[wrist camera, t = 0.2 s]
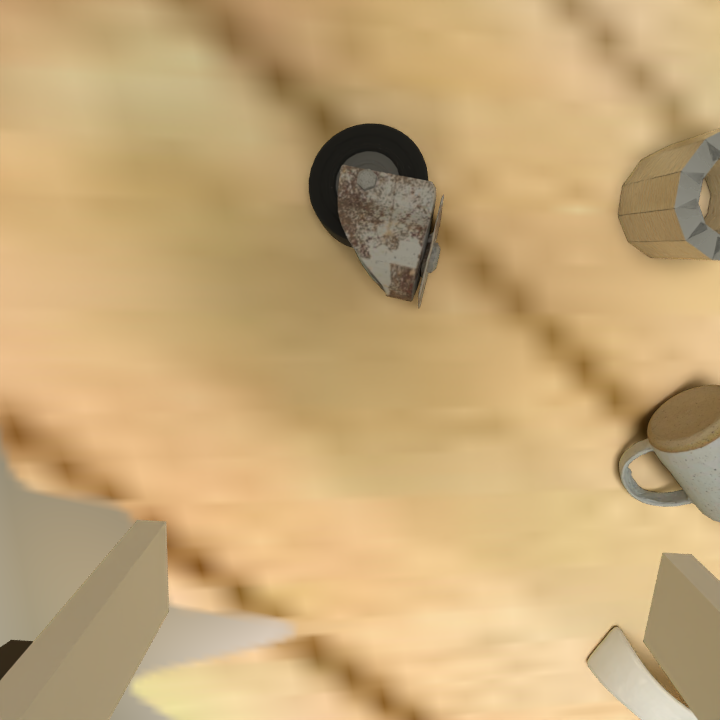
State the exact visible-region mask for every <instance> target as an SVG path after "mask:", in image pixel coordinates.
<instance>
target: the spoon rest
mask: <svg viewBox="0 0 720 720" xmlns="http://www.w3.org/2000/svg"><path fill="white" fill-rule="evenodd" d="M587 664H588V667H589V668H590V670H591V671H592V673H593V674H594V675H595V676H596V678H597V679H598V680H599V681H600V682H601V683H602V685H603V686H604V687H605V688H606V689H607V690H608V691H609V692H610V693H611V694H612V695H614V696H615V697H616V698H617V699H618V700H619V701H620V702H621V703H622V704H623V705H625V706H626V707H627V708H628V709H629V710H630V711H631V712H633V713H634V714H635V715H636V716H637V717H639V718H640V719H641V720H698V719H697V718H696V716H695V715H694V714H693V712H692V711H691V709H689V708H688V707H686V706H685V705H684V704H682V703H681V702H680V701H678V700H677V699H676V698H675V697H673V696H672V695H671V694H670V693H669V692H668V691H666V690H665V689H664V688H663V687H662V685H661V684H660V683H659V682H658V681H657V680H656V679H655V678H654V677H653V676H652V675H651V673H650V672H649V671H648V670H647V668H646V667H645V666H644V664H643V663H642V662H641V660H640V659H639V657H638V656H637V654H636V652H635V651H634V649H633V648H632V646H631V645H630V643H629V642H628V640H627V638H626V637H625V635H624V634H623V632H622V631H621V629H620V628H619V627H614V628H613V629H612V630H611V631H610V632H609V633H608V635H607V636H606V637H605V638H604V640H603V641H602V642H601V643H600V644H599V645H598V647H597V648H596V649H595V650H594V652H593V653H592V654H591V656H590V657H589V659H588V661H587Z"/></svg>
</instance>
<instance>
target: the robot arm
mask: <svg viewBox="0 0 720 720" xmlns="http://www.w3.org/2000/svg"><path fill="white" fill-rule="evenodd" d="M168 612H169V597H168V565H167V533H166V522H164V521H148V520H137V521H136V522H135V523H134V524H133V525H132V527H131V528H130V529H129V530H128V531H127V533H126V534H125V535H124V536H123V537H122V538H121V540H120V541H119V542H118V543H117V544H116V545H115V547H114V548H113V549H112V550H111V551H110V552H109V554H108V555H107V556H106V557H105V558H104V559H103V561H102V562H101V563H100V564H99V565H98V567H97V568H96V569H95V570H94V571H93V573H91V575H90V576H89V577H88V578H87V579H86V581H85V582H84V583H83V584H82V585H81V587H80V588H79V589H78V590H77V591H76V592H75V593H74V595H73V596H72V597H71V598H70V599H69V600H68V602H67V603H66V604H65V605H64V606H63V608H62V609H61V610H60V611H59V612H58V613H57V614H56V616H55V617H54V618H53V619H52V620H51V622H50V623H49V624H48V625H47V626H46V627H45V629H44V630H43V631H42V632H41V633H40V634H39V636H38V637H37V638H36V639H35V640H34V641H20V640H10V641H9V642H7V643H6V644H5V645H3V646H2V647H0V720H109V719H110V717H111V716H112V714H113V712H114V710H115V708H116V706H117V705H118V703H119V701H120V699H121V697H122V696H123V694H124V692H125V690H126V688H127V687H128V685H129V683H130V681H131V679H132V677H133V676H134V674H135V672H136V670H137V668H138V667H139V665H140V663H141V661H142V659H143V657H144V655H145V654H146V652H147V650H148V648H149V647H150V645H151V643H152V641H153V639H154V638H155V636H156V634H157V632H158V630H159V628H160V627H161V625H162V623H163V621H164V619H165V618H166V616H167V614H168ZM643 642H644V643H645V645H646V646H647V648H648V649H649V650H650V652H651V653H652V655H653V656H654V658H655V659H656V661H657V662H658V663H659V665H660V666H661V668H662V669H663V671H664V672H665V673H666V675H667V676H668V678H669V679H670V681H671V682H672V683H673V685H674V686H675V688H676V689H677V691H678V692H679V693H680V695H681V696H682V698H683V699H684V701H685V702H686V704H687V705H688V706H689V708H690V709H691V711H692V712H693V714H694V715H695V716H696V718H697V719H698V720H720V581H719V580H718V579H717V578H716V577H715V576H714V575H713V574H712V573H711V572H710V571H708V570H707V569H706V568H705V567H704V566H703V565H702V564H701V563H700V562H699V561H698V560H697V559H696V558H695V557H694V556H693V555H692V554H676V553H662V557H661V562H660V566H659V571H658V575H657V580H656V584H655V589H654V594H653V598H652V603H651V607H650V612H649V617H648V621H647V626H646V630H645V635H644V640H643Z"/></svg>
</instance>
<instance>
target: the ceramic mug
mask: <svg viewBox="0 0 720 720" xmlns="http://www.w3.org/2000/svg"><path fill="white" fill-rule="evenodd" d="M647 436H648V439H645V440H642V441H640V442H637V443H635V444H634V445H632V446H631V447H630V448H628V449H627V450H626V451H625V452H624V453H623V455H622V456H621V458H620V462H619V472H620V478H621V481H622V483H623V485H624V487H625V488H626V490H627V491H628V493H629V494H631V495H632V496H633V497H634V498H635V499H637V500H639V501H641V502H643V503H646V504H650V505H654V506H664V507H666V506H680V505H685V504H690V503H693V504H695V505H696V506H697V508H698V509H699V510H700V511H701V512H702V513H703V514H704V515H706V516H707V517H709V518H711V519H712V520H714V521H717V522H720V385H706V386H699V387H695V388H691V389H688V390H686V391H683V392H681V393H679V394H677V395H675V396H674V397H672V398H670V399H669V400H667V401H666V402H665V403H664V404H662V405H661V406H660V407H659V408H658V409H657V410H656V411H655V413H654V414H653V416H652V417H651V419H650V421H649V424H648V428H647ZM650 451H654V452H655V453H656V455H657V456H658V458H659V459H660V460H661V462H662V463H663V464H664V465H665V466H666V468H667V469H668V470H669V471H670V472H671V474H672V475H673V476H674V478H675V479H676V481H677V482H678V483H679V484H680V486H681V487H682V488H683V490H679V491H674V492H667V493H657V492H650V491H647V490H644V489H642V488H641V487H639V486H638V485H637V483H636V482H635V480H634V479H633V478H632V476H631V470H630V469H629V468H628V466H629V464H630V463H631V462H632V461H633V460H634V459H636V458H638V457H639V456H641V455H643V454H646V453H647V452H650Z"/></svg>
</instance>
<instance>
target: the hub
mask: <svg viewBox="0 0 720 720" xmlns="http://www.w3.org/2000/svg"><path fill="white" fill-rule="evenodd" d="M704 177H705V179H706V182H707V184H708V187H709V190H710V193H711V199H710V204H709V209H708V214H707V216H706V217H705V218H703V215H702V212H701V210H700V207H699V204H698V202H699V197H700V192H701V187H702V182H703V179H704ZM618 215H619V216H618V217H619V220H620V222H621V225H622V228H623V230H624V233H625V235H626V238H627V240H628V242H629V243H630V244H632V245H633V246H635V247H636V248H637V249H639V250H640V251H642V252H643V253H644V254H646V255H647V256H649V257H650V258H671V259H694V260H720V128H719V129H716V130H713V131H710V132H707V133H704V134H701V135H698V136H695V137H692V138H689V139H686V140H684V141H681V142H678V143H675V144H672V145H669V146H667V147H665V148H663V149H661V150H659V151H657V152H655V153H653V154H651V155H650V156H648V157H646V158H644V159H642V160H641V161H640V162H639V164H638V165H637V167H636V168H635V169H634V171H633V172H632V173H631V175H630V176H629V178H628V179H627V180H626V182H625V183H624V184H623V187H622V193H621V199H620V206H619V212H618Z"/></svg>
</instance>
